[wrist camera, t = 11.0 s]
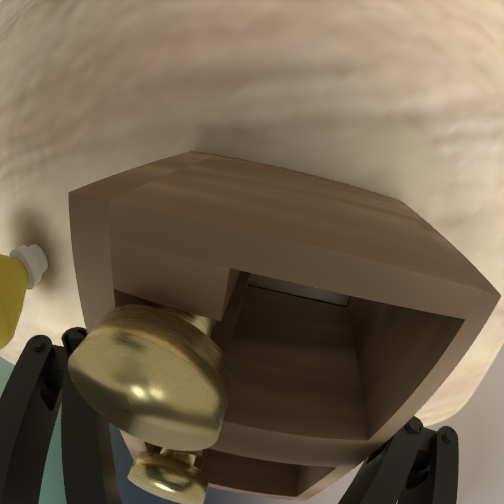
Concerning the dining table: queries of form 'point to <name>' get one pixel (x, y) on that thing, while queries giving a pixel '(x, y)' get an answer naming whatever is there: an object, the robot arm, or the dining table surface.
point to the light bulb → (17, 285)
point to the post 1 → (155, 375)
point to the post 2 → (170, 476)
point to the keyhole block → (284, 306)
